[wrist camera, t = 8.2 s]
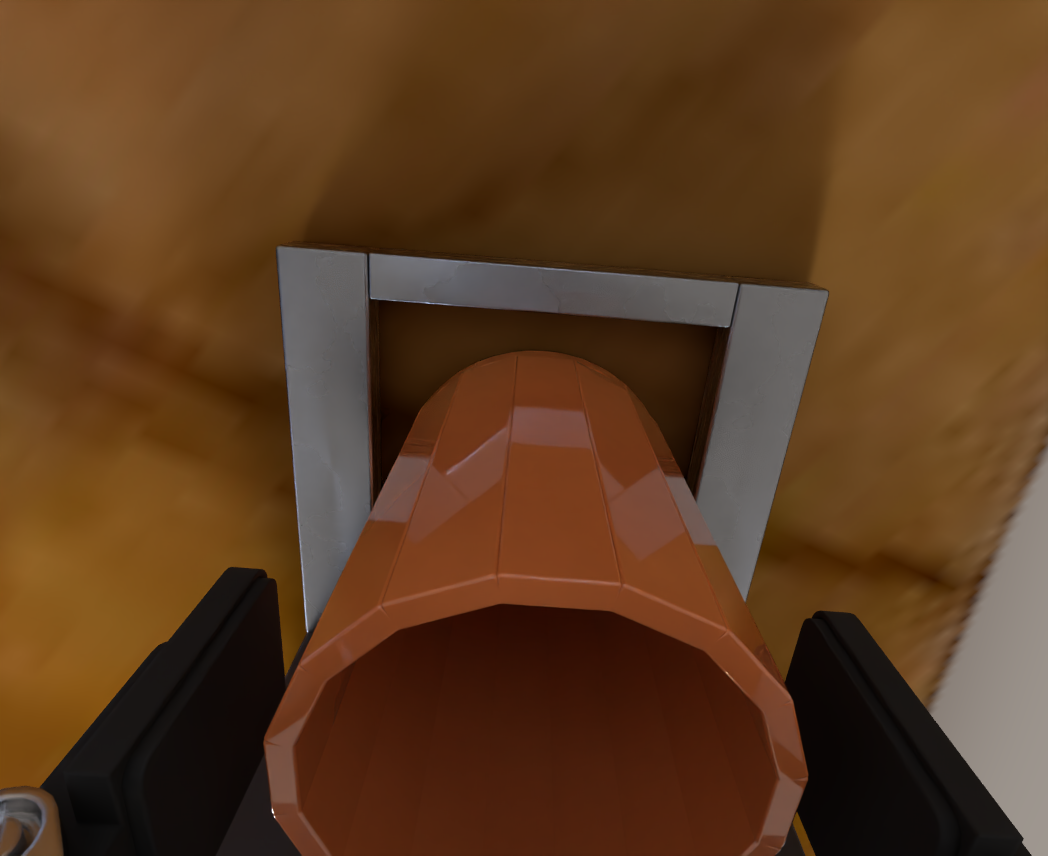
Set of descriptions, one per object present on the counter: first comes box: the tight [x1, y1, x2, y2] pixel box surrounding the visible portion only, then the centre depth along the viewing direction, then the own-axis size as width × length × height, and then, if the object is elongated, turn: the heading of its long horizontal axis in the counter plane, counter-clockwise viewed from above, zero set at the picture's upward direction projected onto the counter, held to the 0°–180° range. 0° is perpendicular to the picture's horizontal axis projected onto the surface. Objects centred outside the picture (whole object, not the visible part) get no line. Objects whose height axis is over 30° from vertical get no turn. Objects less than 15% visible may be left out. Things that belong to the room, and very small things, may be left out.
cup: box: [263, 351, 808, 856], centre depth 12 cm, size 7×7×9 cm
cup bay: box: [276, 241, 829, 633], centre depth 15 cm, size 10×12×1 cm
